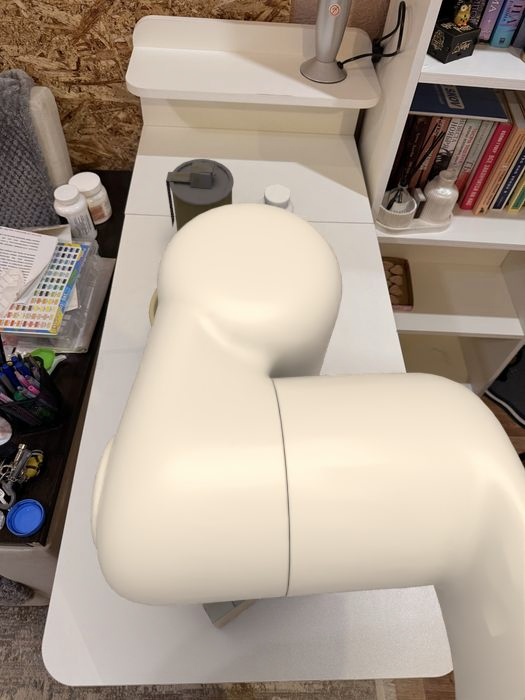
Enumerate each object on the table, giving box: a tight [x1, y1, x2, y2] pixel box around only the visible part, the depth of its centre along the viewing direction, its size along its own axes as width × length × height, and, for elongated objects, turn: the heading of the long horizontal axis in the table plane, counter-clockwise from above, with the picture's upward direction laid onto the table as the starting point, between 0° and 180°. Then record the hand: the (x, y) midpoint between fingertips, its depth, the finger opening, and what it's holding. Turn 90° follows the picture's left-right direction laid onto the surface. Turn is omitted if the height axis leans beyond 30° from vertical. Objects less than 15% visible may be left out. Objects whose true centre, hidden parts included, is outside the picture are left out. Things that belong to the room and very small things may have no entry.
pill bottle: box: [258, 183, 294, 213], centre depth 96 cm, size 6×6×12 cm
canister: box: [165, 158, 235, 233], centre depth 89 cm, size 11×10×20 cm
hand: (240, 482), depth 45 cm, fingers closed on medicine bottle, 6 cm apart
